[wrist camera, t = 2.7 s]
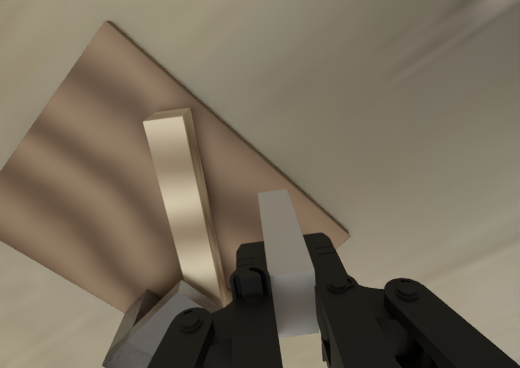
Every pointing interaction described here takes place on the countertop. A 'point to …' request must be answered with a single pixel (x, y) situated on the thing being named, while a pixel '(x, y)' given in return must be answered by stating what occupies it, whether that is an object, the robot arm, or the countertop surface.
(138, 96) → the base plate
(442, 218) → the countertop surface
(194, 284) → the link
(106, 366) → the block
